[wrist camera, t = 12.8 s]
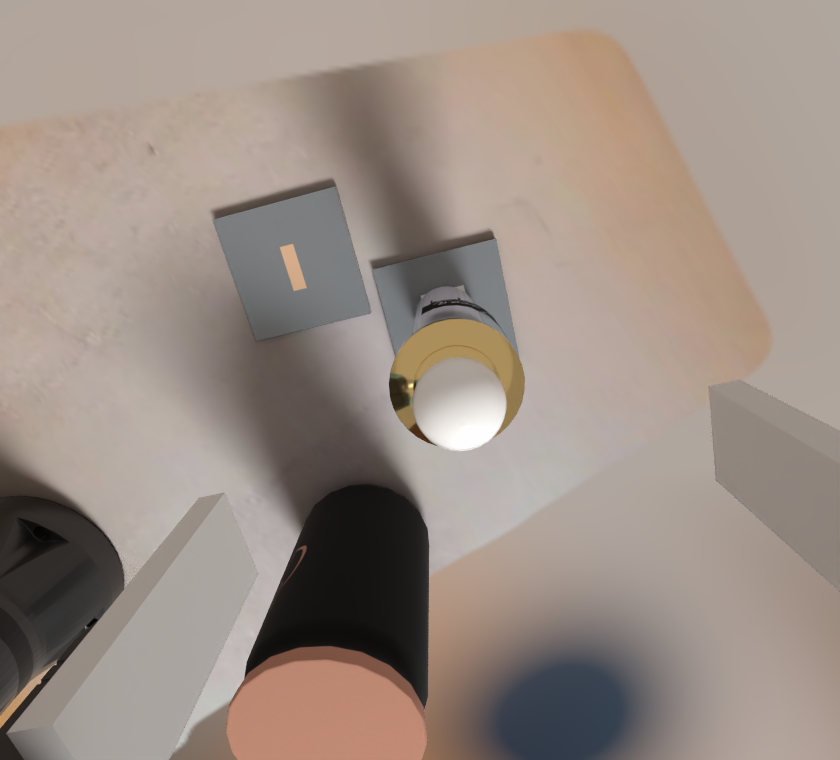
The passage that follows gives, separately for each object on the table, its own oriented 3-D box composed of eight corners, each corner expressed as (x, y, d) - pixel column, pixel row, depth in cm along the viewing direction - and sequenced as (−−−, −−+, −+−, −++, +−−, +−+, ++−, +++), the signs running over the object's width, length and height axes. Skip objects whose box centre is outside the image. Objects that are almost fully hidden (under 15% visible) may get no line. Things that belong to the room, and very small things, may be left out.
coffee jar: (306, 473, 41) (218, 651, 24) (433, 482, 41) (435, 666, 24) (306, 578, 45) (229, 800, 28) (424, 586, 45) (420, 814, 28)
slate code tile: (404, 382, 39) (404, 385, 38) (373, 269, 36) (372, 269, 36) (517, 357, 38) (519, 359, 37) (495, 238, 35) (496, 238, 35)
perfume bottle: (473, 362, 37) (516, 509, 18) (399, 343, 37) (364, 474, 18) (495, 287, 36) (567, 365, 17) (417, 267, 35) (400, 324, 16)
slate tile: (258, 339, 38) (255, 341, 37) (215, 219, 35) (212, 219, 35) (371, 312, 37) (370, 313, 37) (336, 186, 34) (334, 186, 34)
